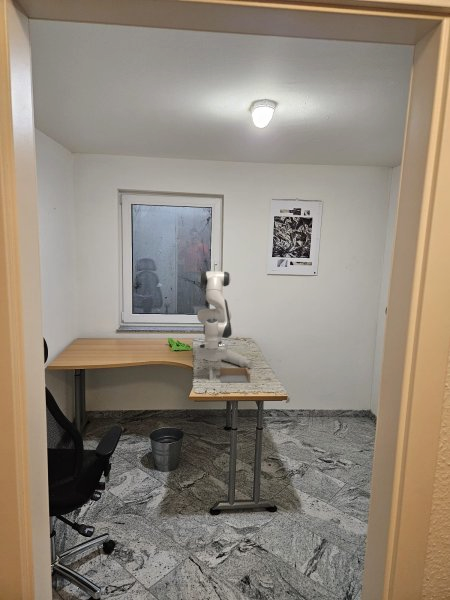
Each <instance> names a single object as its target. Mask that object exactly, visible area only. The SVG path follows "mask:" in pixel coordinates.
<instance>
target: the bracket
mask: <svg viewBox="0 0 450 600" xmlns="http://www.w3.org/2000/svg"><path fill="white" fill-rule="evenodd" d="M208 372H209V374H208V377H209V381H217V376H216V374H215V373H213V367H212V366H209V368H208Z"/></svg>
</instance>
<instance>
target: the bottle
mask: <svg viewBox="0 0 450 600" xmlns="http://www.w3.org/2000/svg"><path fill="white" fill-rule="evenodd" d="M226 352H227V358H226V359H222V360H221V361H224V362H226V363H231V364H234V365H237V366H240V368H248V369H249V368H252V367H253V361H251V360H249V359H248V357H247V356H244V355H241V354H239V353H236V352H235V351H233V350H231V349H228V350H227V351H226Z"/></svg>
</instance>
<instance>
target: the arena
mask: <svg viewBox="0 0 450 600" xmlns="http://www.w3.org/2000/svg"><path fill="white" fill-rule="evenodd" d="M219 377H220V378H219V379H220V382H221V383H222V384H223V383H229V384H230V383H232V384H233V383H237V382H238V383H239V384H240V383H251V372H250V370H249V367H220V368H219Z"/></svg>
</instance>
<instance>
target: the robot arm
mask: <svg viewBox="0 0 450 600" xmlns="http://www.w3.org/2000/svg"><path fill="white" fill-rule="evenodd" d="M231 280H232V279H231V275H230V273H229V272H228V271H220V270H210V271H209V270H208V271H206V270H205V271H201V273H200V275H199V283H200V285H202V286H203V287H206V289H205V299H206V301H207V303H208V304H209V305H211V306H212V307H214V308H202V309H200V310H198V312H197V321H199V323H201V325H203V335H204V341H201V342H198V343H197V347H196V349H195V359H196V360H200V362H201V364H202V367H205V366H206V365H205V364H206V362H204V361H205V360H206V361H209V362H217V363H216V364H217V365H216V366H217V367H219V366H221V365H220V364H221V363H222V361H223V360H222V359H226V358H227V352H226V351H227V350H228V345H226V344H222V343H223V342H222V339H223V338H224V339H229V338H230V337H231V336H232V334H233V326H232V324H231V319H232V313H231V311H230V309H229V305H228V301H227V299H226V298H225V297H224V296H223V287H228V286H229V285H230V282H231Z"/></svg>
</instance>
